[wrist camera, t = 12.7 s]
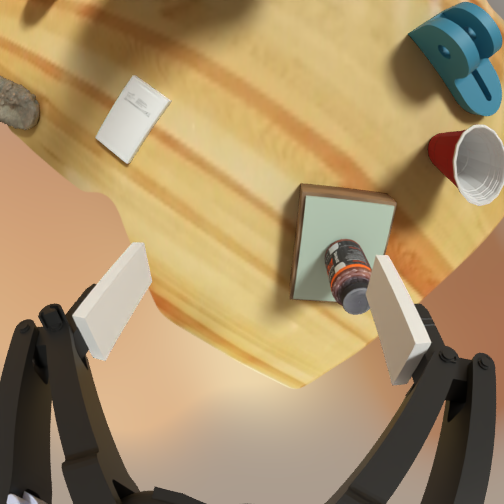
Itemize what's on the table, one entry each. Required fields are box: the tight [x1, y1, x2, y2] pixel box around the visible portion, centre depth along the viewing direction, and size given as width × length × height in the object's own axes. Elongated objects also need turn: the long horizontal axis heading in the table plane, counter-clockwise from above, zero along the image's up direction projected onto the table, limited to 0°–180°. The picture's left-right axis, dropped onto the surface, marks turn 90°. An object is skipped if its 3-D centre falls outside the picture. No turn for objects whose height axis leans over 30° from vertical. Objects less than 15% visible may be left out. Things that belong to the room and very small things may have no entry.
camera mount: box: [408, 2, 502, 116], centre depth 24 cm, size 18×10×10 cm, turn 44°
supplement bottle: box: [325, 239, 372, 315], centre depth 36 cm, size 6×6×11 cm
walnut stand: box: [290, 183, 397, 302], centre depth 44 cm, size 18×14×5 cm
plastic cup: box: [428, 125, 504, 206], centre depth 31 cm, size 11×11×12 cm
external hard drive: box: [95, 75, 172, 164], centre depth 39 cm, size 2×8×12 cm
